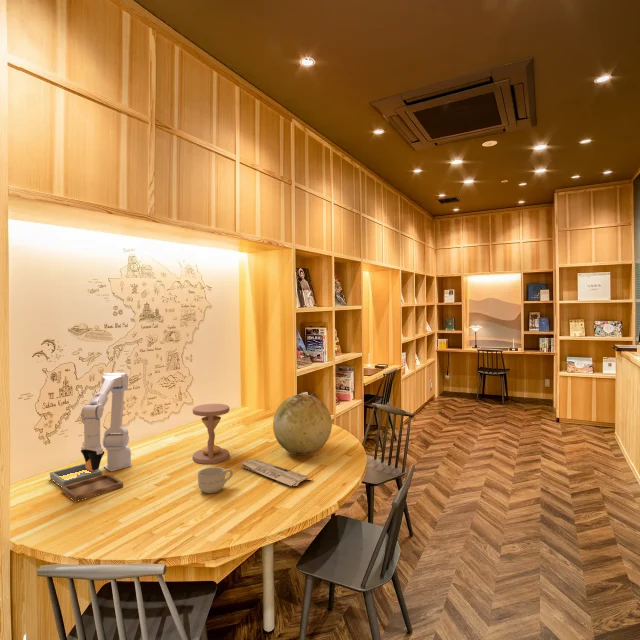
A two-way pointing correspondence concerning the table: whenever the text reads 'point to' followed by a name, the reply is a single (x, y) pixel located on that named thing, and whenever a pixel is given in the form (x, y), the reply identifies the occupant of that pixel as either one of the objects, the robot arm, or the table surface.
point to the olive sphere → (302, 424)
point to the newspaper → (274, 472)
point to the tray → (92, 487)
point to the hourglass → (211, 433)
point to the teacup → (212, 479)
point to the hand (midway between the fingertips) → (92, 467)
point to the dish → (73, 469)
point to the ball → (89, 465)
